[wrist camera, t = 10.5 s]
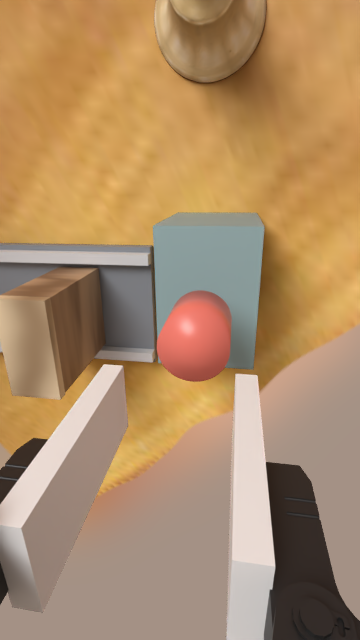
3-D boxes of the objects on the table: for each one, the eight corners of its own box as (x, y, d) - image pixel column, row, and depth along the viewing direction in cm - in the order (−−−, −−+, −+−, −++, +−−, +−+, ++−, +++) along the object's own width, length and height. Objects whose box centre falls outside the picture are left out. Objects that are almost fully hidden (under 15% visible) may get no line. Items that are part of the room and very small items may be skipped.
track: (-26, 345, 41) (-39, 353, 39) (-53, 242, 36) (-69, 245, 34) (157, 357, 37) (152, 366, 35) (152, 245, 33) (147, 249, 31)
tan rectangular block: (69, 341, 37) (12, 395, 28) (58, 266, 34) (-10, 298, 25) (106, 343, 36) (60, 399, 27) (98, 267, 33) (44, 300, 24)
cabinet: (179, 321, 35) (158, 370, 26) (178, 212, 31) (153, 225, 22) (249, 324, 34) (252, 377, 25) (256, 212, 30) (264, 226, 21)
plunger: (171, 344, 21) (158, 378, 18) (170, 289, 20) (155, 313, 16) (230, 348, 21) (228, 384, 17) (233, 291, 20) (231, 316, 16)
